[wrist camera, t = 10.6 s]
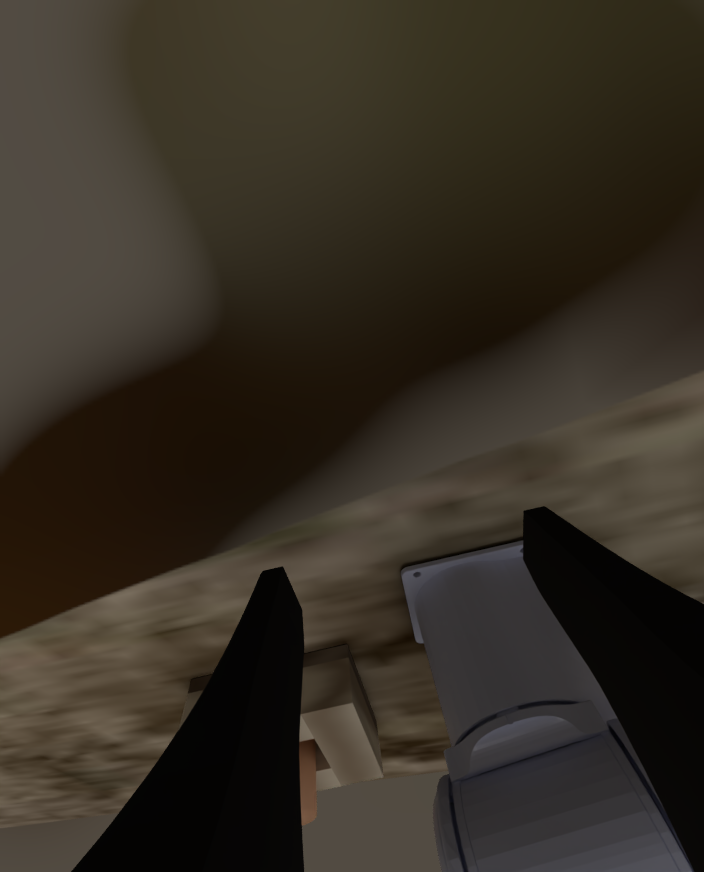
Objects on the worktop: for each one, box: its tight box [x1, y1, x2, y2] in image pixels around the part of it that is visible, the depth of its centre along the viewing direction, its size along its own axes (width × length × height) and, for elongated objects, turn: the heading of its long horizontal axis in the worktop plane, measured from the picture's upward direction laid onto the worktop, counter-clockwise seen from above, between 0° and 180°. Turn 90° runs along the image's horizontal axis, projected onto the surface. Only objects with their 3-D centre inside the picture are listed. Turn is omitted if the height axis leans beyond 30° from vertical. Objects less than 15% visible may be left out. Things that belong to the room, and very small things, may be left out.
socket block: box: [179, 644, 384, 792], centre depth 30 cm, size 12×12×4 cm
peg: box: [299, 739, 317, 825], centre depth 28 cm, size 4×4×6 cm
